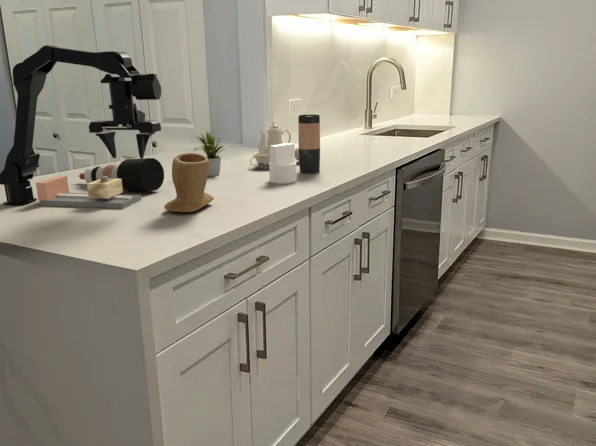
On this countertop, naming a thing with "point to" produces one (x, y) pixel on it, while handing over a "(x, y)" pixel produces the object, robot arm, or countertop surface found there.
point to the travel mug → (309, 143)
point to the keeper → (104, 187)
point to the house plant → (211, 153)
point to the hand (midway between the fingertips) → (128, 158)
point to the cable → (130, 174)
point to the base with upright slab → (282, 163)
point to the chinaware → (272, 139)
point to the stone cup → (189, 183)
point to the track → (77, 196)
